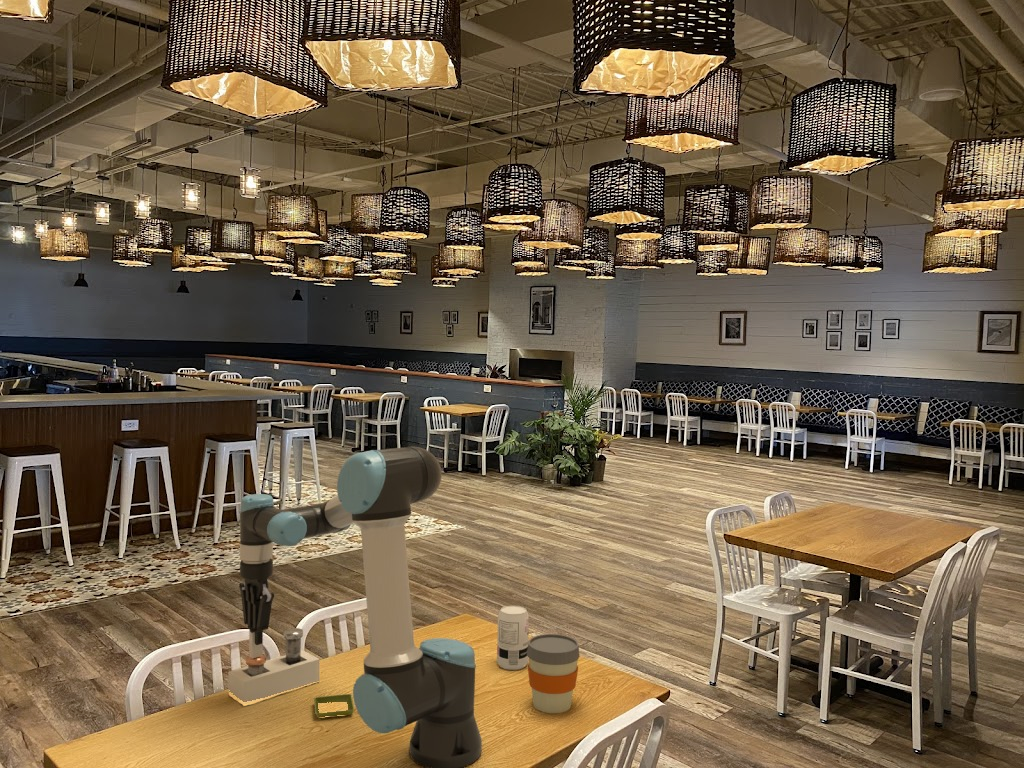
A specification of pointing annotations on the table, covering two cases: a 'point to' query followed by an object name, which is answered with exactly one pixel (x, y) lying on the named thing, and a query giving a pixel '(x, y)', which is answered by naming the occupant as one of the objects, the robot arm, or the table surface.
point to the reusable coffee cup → (552, 671)
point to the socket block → (273, 677)
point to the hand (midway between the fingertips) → (255, 656)
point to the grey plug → (293, 645)
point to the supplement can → (512, 637)
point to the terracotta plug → (255, 665)
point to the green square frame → (334, 698)
